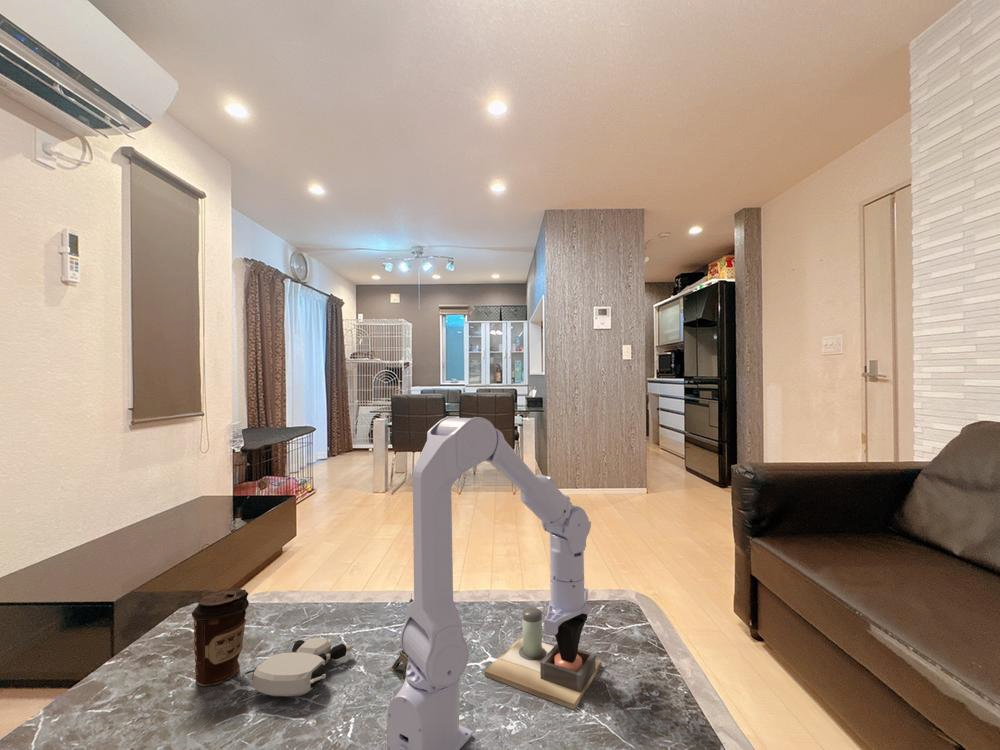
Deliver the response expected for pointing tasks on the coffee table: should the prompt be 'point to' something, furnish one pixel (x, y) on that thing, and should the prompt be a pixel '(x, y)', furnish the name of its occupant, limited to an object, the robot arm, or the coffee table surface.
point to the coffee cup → (219, 635)
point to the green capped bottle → (532, 632)
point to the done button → (572, 666)
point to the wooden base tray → (544, 674)
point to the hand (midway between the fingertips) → (568, 659)
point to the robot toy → (296, 668)
